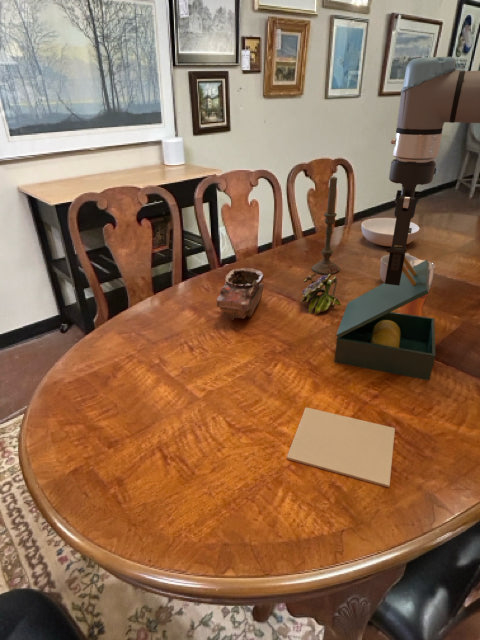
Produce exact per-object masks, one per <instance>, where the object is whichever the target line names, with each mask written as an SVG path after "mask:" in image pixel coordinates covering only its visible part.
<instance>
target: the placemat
mask: <svg viewBox="0 0 480 640" xmlns="http://www.w3.org/2000/svg"><path fill="white" fill-rule="evenodd" d="M395 432H396V427H392V426H388V425H384V424H380V423H375V422H371V421H366V420H362V419H358V418H354V417H350V416H345V415H342V414H337V413H332V412H329V411H324V410H320V409H315V408H311V407H307V406H305V408H304V409H303V413H302V416H301V419H300V421H299V424H298V426H297V429H296V432H295V435H294V437H293V440H292V442H291V445H290V448H289V450H288V452H287V455H286V460H288V461H292V462H296V463H300V464H303V465H306V466H309V467H310V466H311V467H314V468H317V469H320V470H324V471H327V472H332V473H335V474H339V475H342V476H346V477H348V478H349V477H350V478H353V479H356V480H360V481H364V482H367V483H371V484H374V485H378V486H382V487H385V488H390V485H391V475H392V466H393V465H392V464H393V454H394V445H395V444H394V443H395V434H396V433H395Z"/></svg>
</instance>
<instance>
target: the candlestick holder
mask: <svg viewBox="0 0 480 640" xmlns="http://www.w3.org/2000/svg"><path fill="white" fill-rule="evenodd" d="M337 183H338V177H337V176H335V175H333V176H331V177H329V183H328V184H329V185H328V195H327V196H328V197H327V206H326V207H327V208H326V211H325V212H324V214H323V216H324V217H325V218H324V223H325V224H326V227H325V228H326V229H325V246H324V248H323V249H322V250H321V255H322V257H323V259H322V260H321V261H318V262H317V263H314V264H313V265H312V266H311V270H312V271H313V273H316V274H319V275H322V276H325V275H329V274H331V275H336V274H338V273H339V272H340V271H341V268H340V266H339V265H337V264H335V262H333V261H331V257H332V255H333V252H334V251H333V250H332V249H331V242H332V241H331V240H332V235H333V225H334V224H335V223H336V217H337V216H338V215H337V213H336V212H335V209H336V208H335V207H336V195H337V185H338V184H337Z"/></svg>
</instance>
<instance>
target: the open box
mask: <svg viewBox="0 0 480 640" xmlns="http://www.w3.org/2000/svg"><path fill="white" fill-rule="evenodd" d="M383 320H390V321H393V322H395V323H396V324H397V325H398V326H399V328H400V332H401V335H400V344H399V348H396V347H391V346H385V345H379V344H373V343H370V342H371V337H372V333H373V329H374V327H375V325H376V324H377V323H378V322H380V321H383ZM435 325H436V323H435V318H434V317H428V316H423V315H422V316H416V315H409V314H402V313H398V312H395V311H392V312H390V313H388V314H386V315H384V316H382V317H380V318H378V319H376V320H374V321H371V322H369V323H367V324H365V325H363V326H361V327H359V328H357V329H355V330H353V331H351V332H349V333H347V334H345V335H343V336H341V337H339V338H338V337H337V336H336V343H335V351H334V363H337V364H342V365H348V366H352V367H357V368H362V369H369V370H373V371H379V372H384V373H388V374H392V375H393V374H394V375H399V376H403V377H409V378H413V379H420V380H425V381H430V379H431V375H432V372H433V369H434V368H433V367H434V363H435V359H436V329H435V328H436V326H435Z"/></svg>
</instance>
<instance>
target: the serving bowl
mask: <svg viewBox="0 0 480 640" xmlns="http://www.w3.org/2000/svg"><path fill="white" fill-rule="evenodd" d="M395 223H396V218H395V217H394V218H393V217H373V218H369V219H365V220H364V221H362V222H361V233H362V235H363V237H364V238H365V239H366V240H367V241H369V242H370V243H372V244H375V245H377V246H382V247H387V248H391V247H392V241H393V235H394V229H395ZM409 228H412V231H411V233H408V238H407V244H406V245H408V244H410V243H412V242H413V241H414V240H415V239H416V238H417V237H418V235H419V232H420V226H419V225H418V224H417V223H415V222H412V221H410V227H409Z"/></svg>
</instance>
